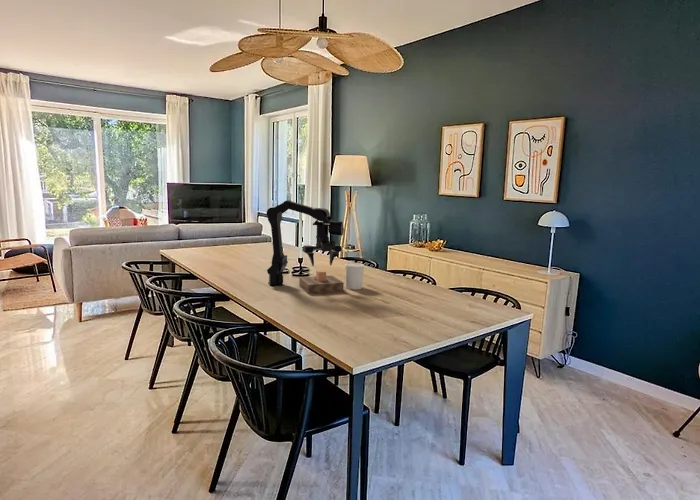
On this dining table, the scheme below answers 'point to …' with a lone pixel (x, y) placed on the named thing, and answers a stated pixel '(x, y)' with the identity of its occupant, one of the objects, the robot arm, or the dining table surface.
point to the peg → (320, 275)
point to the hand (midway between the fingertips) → (321, 265)
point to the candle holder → (354, 275)
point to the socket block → (321, 285)
